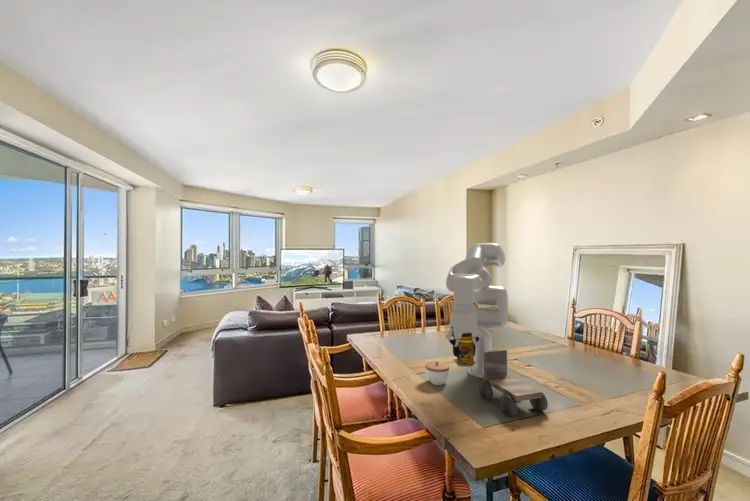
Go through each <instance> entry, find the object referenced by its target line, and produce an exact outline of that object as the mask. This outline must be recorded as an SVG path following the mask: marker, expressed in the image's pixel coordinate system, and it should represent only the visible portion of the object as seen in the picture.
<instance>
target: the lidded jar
mask: <svg viewBox="0 0 750 501" xmlns="http://www.w3.org/2000/svg"><path fill="white" fill-rule="evenodd" d="M424 367H425V376H426V378H427V380H428V381H429V382H430V383H431V384H432V385H435V386H442V385H444V384H445V382H446V381H447V380H448V379H449V375H450V364H448V363H446V362H444V361H437V360H436V361H435V360H433V361H429V362H426V363H425V365H424Z"/></svg>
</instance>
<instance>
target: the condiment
mask: <svg viewBox="0 0 750 501" xmlns="http://www.w3.org/2000/svg"><path fill="white" fill-rule="evenodd" d="M458 347H459V357H456V358H453V361H454V362H455V364H456V366H457V367H459V368H460V367H462V368H463V367H469V368H471V366H477V365H476V363H475V362H474V358H473V340H472V333H468V334H462V338H461V339H460V340H459V343H458Z"/></svg>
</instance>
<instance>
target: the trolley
mask: <svg viewBox="0 0 750 501" xmlns="http://www.w3.org/2000/svg"><path fill="white" fill-rule="evenodd" d="M493 388H494V389H496V391H497V390H498V392H500V393H501V394H504V395H501V396H500V398H499V405H500V409H501V411H502V413H503V414H504V415H505V416H507V417H508V418H511V417H514V416H515V417H516V415H517V414H518V404H517V402H524V401H529V403H530V405H531V406H532V408H533V409H534V410H535V411H537V412H543V411H546V410H547V409H548V404H549V403H548V398H547V397H546V395H545V393H544V392H543V391H542V390H540V389H537V388H536V387H533V386H532V385H529V384H528V383H525V382H524V381H522V380H520V379H519V378H516V377H515V376H513V375H511V374H509V373H508V350H507V349H506V348H503V349H502V348H500V349H492V350H491V351H484V376H483V378H482V380H481V381H478V385H477V390H478V393H479V396H480V397H481V399H482V400H484V401H486V400H491V399H492V398H493V395H494V393H493V392H494V390H493Z"/></svg>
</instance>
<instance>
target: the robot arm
mask: <svg viewBox="0 0 750 501" xmlns="http://www.w3.org/2000/svg"><path fill="white" fill-rule="evenodd" d="M465 256H466V257H465V258H464V260H461V261H458V263H456V264H454V265H453V266H452V267H451V268H450V270H449V271H448V273H447V276H446V280H445V286H446V289H447V290H448V291H449V292H451V293H453V311H451V313H450V319H449V329H448V330H449V331H448V332H447V333H446V335H445V336H444V337H445V339H446V340H447V341H448V342H449V343H450V344H451V345H452V354H453V356H454V357H456V358H457V357H459V347H458V343H459V340H460V339H461V338H462V334H468V333H472V340H473V358H474V362H475V363H476V365H477V366H470V367H469V368H468V369H467V373H468V374H469V376H471V377H475V378H478V379H483V376H484V351H491V350H493V349H492V347H493V346H492V342H493V341H492V340H493V339H492V335H491V334H490V331H488V329H489V330H505V329H506V328H507V327H508V317H509V316H508V308H509V306H508V301H509V300H508V299H509V298H508V291H507V289H506V288H505V287H503V286H494V285H492V283H493V282H492V280H493V278H492V277H493V276H492V274H491V273H490V272H489V271H488V269H486V268H488V267H489V268H500V267H501V268H502V267H503V266H504V265H505V262H506V255H505V251H504V250H503V248H502V247H501V245H500V244H498V243H497V242H496V243H494V242H482V243H481V242H480V243H474V244H472V245H470V247H469V248H468V251H467V253H466V255H465ZM477 305H478V306H489V307H496V308H489V307H477Z"/></svg>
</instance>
